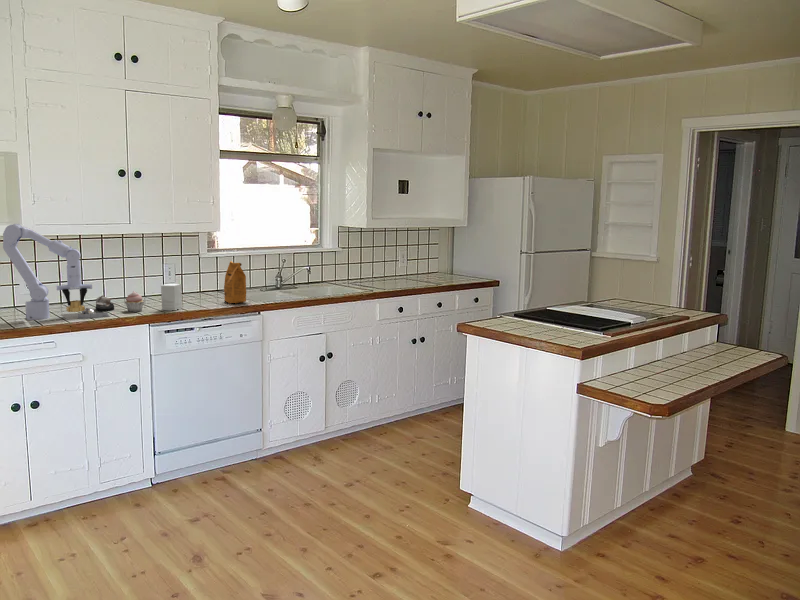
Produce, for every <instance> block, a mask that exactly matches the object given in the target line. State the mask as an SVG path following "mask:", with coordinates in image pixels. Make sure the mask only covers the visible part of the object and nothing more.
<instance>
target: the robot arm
mask: <svg viewBox="0 0 800 600" xmlns="http://www.w3.org/2000/svg"><path fill="white" fill-rule="evenodd" d="M2 235H3V239H2V241H3V242H2V249H3V251H4V252H5V254H6V255H7V257H8V258H9V260H10V261H11V263H12V264H13V265H14V267H15V269H16V270H17V271H18V273H19V275H20V276H21V278H22V279H23V281H24V282H25V284H26V286H27V289H28V291H29V297H30V301H29V300H28V301H25V302H24V303H25V304H24V305H25V306H24V307H25V319H26V320H28V321H32V320H48V319H50V318H51V317H50V316H51V314H50V298H48V297H47V296H48V295H49V289H48V286H46V285H45V284H43V283H42V282H41V281H40V279H38V278H37V275H36V274H35V273H34V271H33V269H32V268H31V267H30V266H29V263H28V262H27V260H26V259H25V258H24V256H23V254H22V253H21V252H20V250H19V248H18V245H19V242H20V240H21V239H30V240H33V241H35V242H37V243H39V244H41V245H43V246H46V247H47V248H48V251H50V252H51V253H53V254H55V255H57V256H59V257H61V258H65V259H66V278H67V280H66V281H67V282H66V284H63V285H56V291H62V293H63V295H64V297H65V299H66V302H67V307H68V306H70V301H71V296H70V295H71V291H72V290H79V298H80V299H79V300H80V301H81V305H83V306H84V300H85V298H86V294H87V292H88V290H92V289H93V284H92V283H91V284H90V283H86V284H85V283H83V284H82V269H81V268H82V267H81V260H80V258H81V252H80V251H79V249H77V248H74V247H73V246H72V245H70V246H69V245H68V244H65V243H64V242H63V240H61V239H59V240H57V239H54V240H51V239H49V238H48V237H46V236H44V235H42V234H40V233H39V232H36V231H34V230H33V229H31V228H28V227H27V226H22V225H21V224H19V223H14V224H9V225H7V226H6V227H5V229H4V231H3V233H2ZM70 290H71V291H70Z"/></svg>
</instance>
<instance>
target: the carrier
mask: <svg viewBox="0 0 800 600" xmlns="http://www.w3.org/2000/svg"><path fill="white" fill-rule="evenodd" d="M61 316H62V317H63V318H64V319H65V320H66V321H73V320H74V321H75V320H84V319H85V320H86V319H88V320H89V319H97V318H98V319H99V318H109V317H111V316H110V315H109V311H95V310H94V308H90V307H85V310H84V311H81V312H74V313H65V314H63V313H62V314H61Z"/></svg>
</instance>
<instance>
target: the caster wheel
mask: <svg viewBox="0 0 800 600" xmlns="http://www.w3.org/2000/svg"><path fill="white" fill-rule="evenodd" d="M111 301H112V300H111V298H110V297H108V296H107V297H106V294H102V295H101V296H98V297H97V298H95V312H101V311H102V312H112V311H115V304H114V303H112V302H111Z"/></svg>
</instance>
